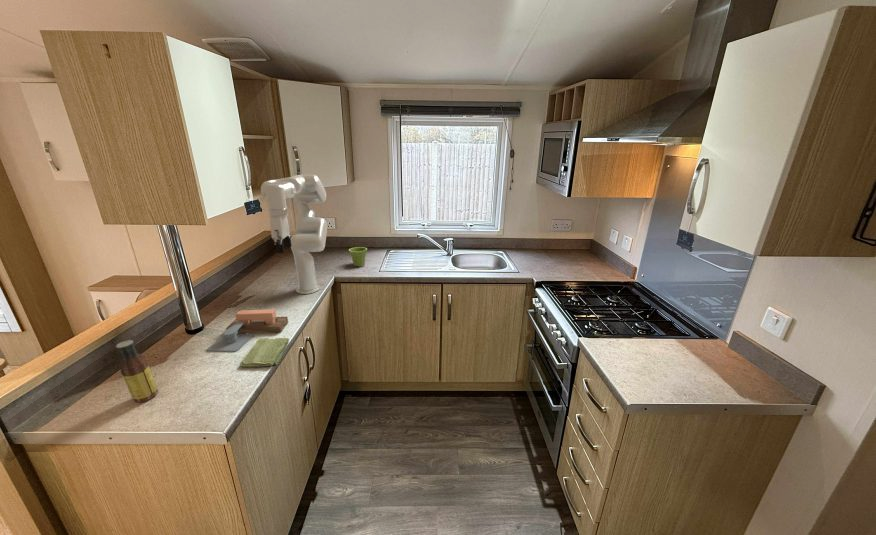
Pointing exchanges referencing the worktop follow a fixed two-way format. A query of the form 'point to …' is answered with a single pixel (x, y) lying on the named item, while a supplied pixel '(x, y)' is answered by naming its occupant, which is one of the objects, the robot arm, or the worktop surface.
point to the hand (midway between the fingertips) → (284, 249)
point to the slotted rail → (262, 326)
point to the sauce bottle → (136, 372)
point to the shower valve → (231, 340)
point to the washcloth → (265, 352)
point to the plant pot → (358, 255)
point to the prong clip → (256, 316)
